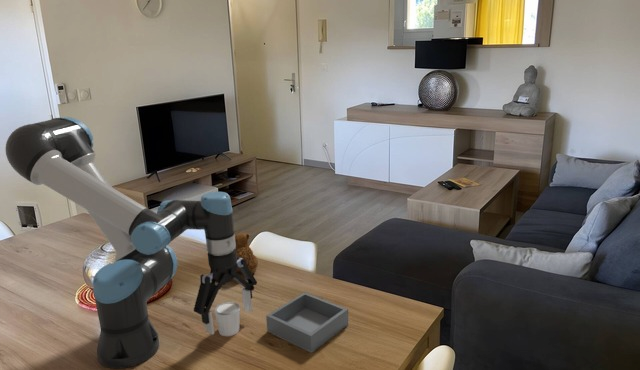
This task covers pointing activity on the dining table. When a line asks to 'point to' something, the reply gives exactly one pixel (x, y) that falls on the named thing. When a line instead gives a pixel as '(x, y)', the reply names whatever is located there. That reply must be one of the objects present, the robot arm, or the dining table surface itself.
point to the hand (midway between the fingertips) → (229, 321)
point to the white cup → (227, 318)
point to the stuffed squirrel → (245, 252)
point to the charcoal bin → (307, 321)
